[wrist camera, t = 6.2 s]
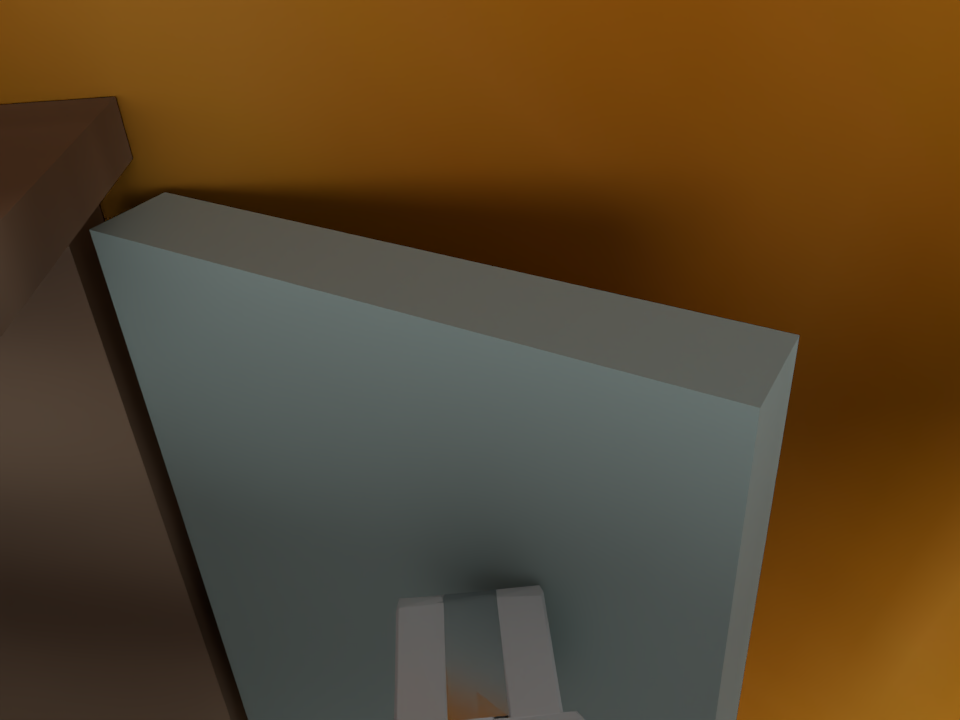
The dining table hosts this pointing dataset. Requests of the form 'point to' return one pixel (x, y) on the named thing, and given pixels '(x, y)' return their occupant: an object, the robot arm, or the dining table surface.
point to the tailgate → (448, 457)
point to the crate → (85, 459)
